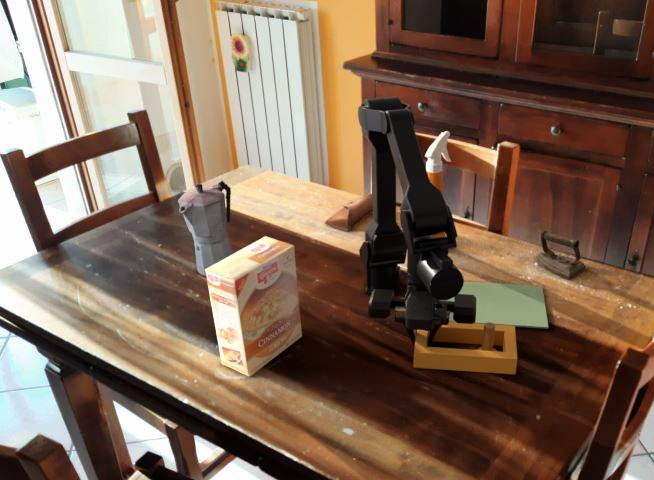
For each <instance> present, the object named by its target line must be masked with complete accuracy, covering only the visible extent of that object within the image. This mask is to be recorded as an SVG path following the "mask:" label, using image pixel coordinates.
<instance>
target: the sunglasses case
mask: <svg viewBox="0 0 654 480" xmlns="http://www.w3.org/2000/svg"><path fill="white" fill-rule="evenodd" d="M371 214H373V204H372V193H368V194H366V195H365V194H364V195H362V196H360V197H358V198H356V199H353V200H350V201H349V202H347V203H345V204H344V205H343V207H342V208H340V209H339V210H337V211H336V212H335V213H333V214H332V215H331V216H329V217H328V218H327V219H325V221H324V224H325V225H326V226H329V227H332V228H334V229H337V230H341V231H345V232H348V231H350V230H351V229H353V228H354V227H355V226H357V225H358V224H360V222H361V221H363V220H364V219H365V218H366V217H368V216H370V215H371Z"/></svg>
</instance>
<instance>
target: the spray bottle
mask: <svg viewBox="0 0 654 480" xmlns="http://www.w3.org/2000/svg"><path fill="white" fill-rule="evenodd" d="M450 136H451V133H450V131H448V130H446V131H444V132H443V131H441V132H440V133H439V135H438V136H437V137H436V138H435V140H434V141H433V142H432V143H431V144H430V146H428V148H427V151H426V152H425V154H424V157H425V158H426V159H427V161H426V162H425V163H426V164H425V167H426V170H427V173H428V177H429V179H430V182H431V183H432V184H433V185H434V186H435V187H436V188H438V189H439V190H440V191H441V192H442V195H443V197H444V196H445V195H444V177H443V160H442V158H443V159H444V160H445V161H446V162H449V163H452V160H451V158H450V154H449V151H448V148H447V146H448V141H449V140H448V139H449V137H450ZM444 198H445V197H444ZM432 236H434V237H435V238H440V237H447V236H446V233H445V232H444V233H443V234H436V235H432Z"/></svg>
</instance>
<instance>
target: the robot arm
mask: <svg viewBox="0 0 654 480" xmlns="http://www.w3.org/2000/svg"><path fill="white" fill-rule="evenodd" d="M357 119H358V124H359V125H360V127H361V133H362V134H363V136H364V138H365V139H366V141H367V142H368V144H369V145H370V161H371V163H370V165H371V194H372V204H373V212H372V219H371V220H370V222H369V224H368V225H367V227H366V229H365V231H364V241H363V242H362V243H361V246H360V248H359V249H358V250H359V251H358V254H359V260H360V262H361V264H362V266H363V268H364V269H365V271H366V288H365V294H366V295H370V298H369V301H368V308H367V309H368V310H367V311H368V317H369V318H371V319H384V320H385V319H388V318H389V317H390V316H391V314H392V313H391V310H394V312H395V314H394V322H395V323H400V324H402V325H403V326H404V328H405V330H406V331H407V334H408V336H409V339H410V342H411V344H412V346H413V347H415V342H416V335H417V330H425V331H429V335H428V345H427V347H431V345H432V343H433V342H434V341H433V339H434V337H435V334H436V332H437V331H438V329H439V328H440V327H441V326H442V325H448V324H449V315H450V312H453V320H454V321H456V322H457V323H463V324H473V323H475V321H476V297H475V296H474V295H468V294H458V293H459V292H460V291H461V289H462V287H463V284H464V281H465V279H464V276H463V273H462V272H461V271H460V269H459V268H458V267H457V266H456V265H455V263H454V261H453V259H452V258H451V256H449V249H451V250H452V249H457V248H458V244H457V237H458V231H457V228H456V224H455V220H454V217H453V214H452V211H451V209H450V206H449V205H448V204H447V202H446V200H445V197H443V196H444V194H443V195H442V192H441V191H440V190H439V189H438V188H436V187H435V186H434V185H433V184H432V183H431V182H430V179H429V177H428V173H427V170H426V164H425V163H426V162H425V161H424V157H423V154H422V150H421V147H420V144H419V143H420V142H419V140H418V137H417V134H416V130H415V116H414V113H413V110H412V105H411V104H408V103H406V102H401V99H400V97H399V96H389V97H388V96H387V97H376V98H375V97H373V98H365V99H364V100H363V103H361V104H360V106H359V105H358V109H357ZM397 176H398V180H399V183H400V187H401V190H402V191H401V192H402V194H403V199H402V202H401V204H400V207H399V213H400V214H399V222H400V225H399V224H398V222H397ZM444 232H445V235H446V237H440V238H435V237H434V236H432V235H436V234H443V233H444ZM406 259H407V260H406ZM406 261H407V262H406ZM404 264H406V265H407V266H406V293H405V296H404V297H395V296H396V295H397V294H398V290H399V289H400V286H401V269H402V268H401V266H400V265H404ZM453 297H454V301H450V299H451V298H453Z"/></svg>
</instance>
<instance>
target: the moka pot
mask: <svg viewBox="0 0 654 480" xmlns="http://www.w3.org/2000/svg"><path fill="white" fill-rule="evenodd" d="M194 187H195V189H193V190H190V191H187V192H184V193H182V194H181V196H180V197H179V199H178V200H177V203H178V205H179V213H180V214H182V216H183V218H184V221H185V223H186V226H187V228H188V231H189V232H190V233H191V235H192V239H193V241H194V252H195V253H194V254H195V261H196V271H197V273H199V274H200V275H201V276H204V277H206V272H205V269H207V268H209V267H211V266H212V265H214V264H216V263H218V262H220V261H221V260H223V259H225V258H227V257H229V256H231V255H232V254H234V253H235V252H234V249H233V246H232V244H231V242H230V239H229V236H228V233H227V232H228V231H227V225H228V223H229V222H230V221H231V197H232V196H231V194H232V191H231V187H230V186H229V185H228V184H227V183H226V182H224V181H223V180H221V181H220V182H218V184H214V185H212V186H211V187H203V184H202V183H197V184H195V185H194ZM224 190H225V193H224V192H223V191H224Z"/></svg>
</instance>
